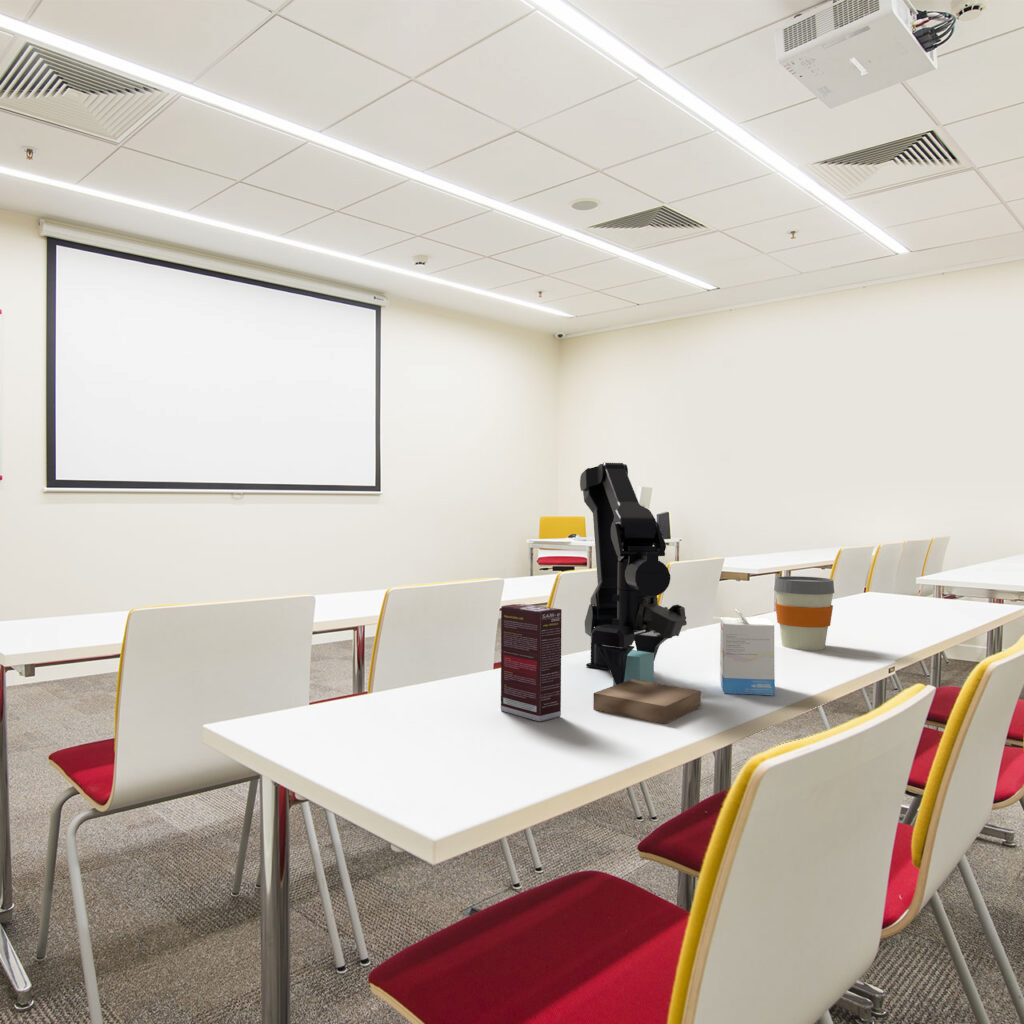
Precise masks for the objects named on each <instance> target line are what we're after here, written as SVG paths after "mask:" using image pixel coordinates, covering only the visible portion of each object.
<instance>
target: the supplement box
mask: <svg viewBox="0 0 1024 1024" xmlns="http://www.w3.org/2000/svg"><path fill="white" fill-rule="evenodd" d="M500 611H501V613H500V662H501V663H500V710H501V712H505V713H509V714H512V715H516V716H519V717H523V718H526V719H528V720H529V719H530V720H532V721H536V722H545V721H549V720H552V719H557V718H560V717H561V715H562V711H561V710H562V709H561V708H562V609H561V608H557V607H556V608H555V607H547V606H539V605H531V604H525V603H516V604H514V603H513V604H506V605H501V610H500Z"/></svg>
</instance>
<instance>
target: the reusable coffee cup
mask: <svg viewBox="0 0 1024 1024" xmlns="http://www.w3.org/2000/svg"><path fill="white" fill-rule="evenodd" d="M774 580H775V581H774V588H773V591H775V596H776V602H775V603H774V604H775V613H776V622H777V623H778V624H779V630H780V637H781V638H780V640H781V645H782V646H783V647H785V648H788V649H792V650H793V649H794V650H802V651H803V650H804V651H819V650H820V651H821V650H824V649H825V648H826V641H827V636H828V629H829V627H830V626H831V623H832V615H833V609H834V605H832V602H833V594H835V584H834V579H832V578H827V577H816V576H800V575H799V576H795V575H794V576H793V575H790V576H788V575H787V576H785V575H784V576H776V577H775V579H774Z"/></svg>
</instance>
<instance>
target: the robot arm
mask: <svg viewBox="0 0 1024 1024" xmlns="http://www.w3.org/2000/svg"><path fill="white" fill-rule="evenodd" d="M579 487H580V491H581V492H582V494H583V501H584V503H585V504H586V506H587V507H588V509H589V510H590V512H591V513H592V517H593V518H592V520H593V530H594V531H593V533H594V546H595V548H594V549H595V550H594V551H595V562H596V577H597V578H596V579H597V586H596V587H595V589H594V591H593V593H592V595H591V597H590V604H588V608H587V611H586V615H585V619H584V633H585V634H586V635H588V636H589V637H590V662H587V663H586V664H585V665H586V667H589V668H593V669H600V670H605V671H609V672H610V674H611V676H612V680H613V679H614V681H615V683H616V685H617V684H620V683H623V682H624V678H625V669H626V660H627V655H628V654H629V653H630V652H631V651H632V650H634V648H635V647H636V649H635V650H636V651H643V652H650V653H654V661H655V659H656V657H657V654H658V650H659V648H660V646H661V645H662V644H664V642H666V641H667V640H668V639H672V638H673V637H679V636H680V634H681V631H682V627H685V626H686V625H687V616H686V608H685V607H684V606H682V605H680V604H674V605H672V606H670V607H669V608H668V606H661V605H659V601H658V600H659V599H658V597H657V596H659V595H661V594H663V593H664V592H665V591H666V590H667V589H668V588H669V586H670V584H671V574H670V571H669V569H668V567H667V565H666V564H664V562H662V561H660V560H659V557H665V556H666V549H667V545H666V541H665V538H664V536H663V532H662V529H661V528H660V524H659V522H657V520H656V518H655V516H654V515H653V513H652V511H651V510H650V509H648V508H646V507H644V506H643V505H641V504H640V501H639V500H638V497H637V494H636V493H635V491H634V488H633V485H632V482H631V480H630V478H629V469H628V465H627V464H626V463H625V464H624V463H623V462H603V463H599V464H598V465H597V466H593V467H587V468H586V469H584V470H583V472H581V474H580V478H579ZM633 643H634V644H635V646H634V645H633Z"/></svg>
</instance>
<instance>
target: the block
mask: <svg viewBox="0 0 1024 1024" xmlns="http://www.w3.org/2000/svg"><path fill="white" fill-rule="evenodd" d="M654 675H655V660H654V653H650V652H643V651H637V649H633V650H632V651H631V652H630V653H629V654H628V655H627V660H626V669H625V678H624V682H626V681H629V680H631V679H635V680H641V681H647V682H653V683H655V682H654V679H655V678H654V677H655V676H654ZM615 685H616V683H615V681H614V679H613V678H612V686H615Z"/></svg>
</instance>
